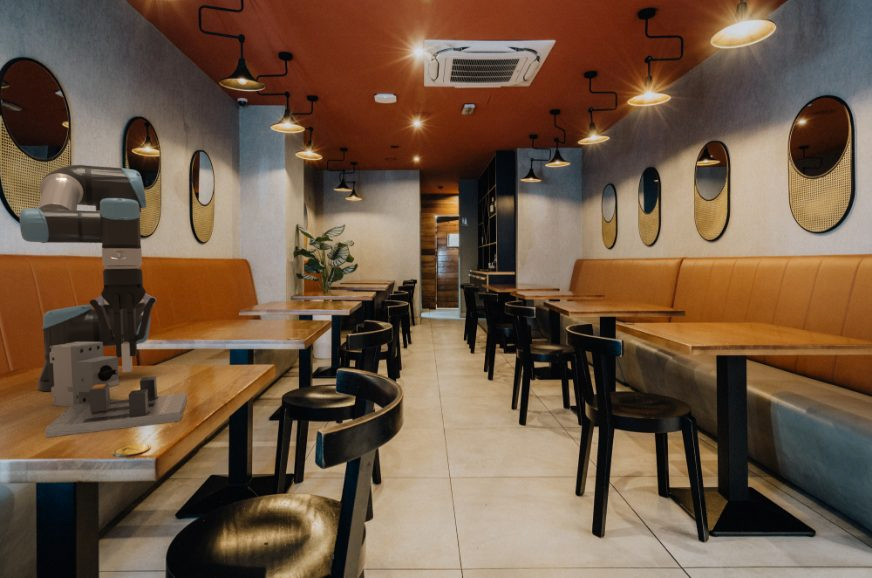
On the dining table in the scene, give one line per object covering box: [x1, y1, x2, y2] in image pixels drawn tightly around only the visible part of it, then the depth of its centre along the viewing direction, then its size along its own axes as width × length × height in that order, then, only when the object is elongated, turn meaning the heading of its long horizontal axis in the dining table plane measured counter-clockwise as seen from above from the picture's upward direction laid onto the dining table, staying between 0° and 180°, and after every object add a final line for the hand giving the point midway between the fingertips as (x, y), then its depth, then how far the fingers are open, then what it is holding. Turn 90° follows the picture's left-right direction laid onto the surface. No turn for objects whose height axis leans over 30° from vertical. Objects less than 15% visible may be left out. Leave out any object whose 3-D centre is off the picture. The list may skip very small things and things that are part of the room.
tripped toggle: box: [89, 384, 111, 412], centre depth 108 cm, size 4×3×5 cm
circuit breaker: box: [50, 342, 120, 407], centre depth 123 cm, size 8×14×15 cm, turn 78°
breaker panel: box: [45, 376, 188, 438], centre depth 110 cm, size 18×24×7 cm
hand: (127, 370), depth 111 cm, fingers closed
